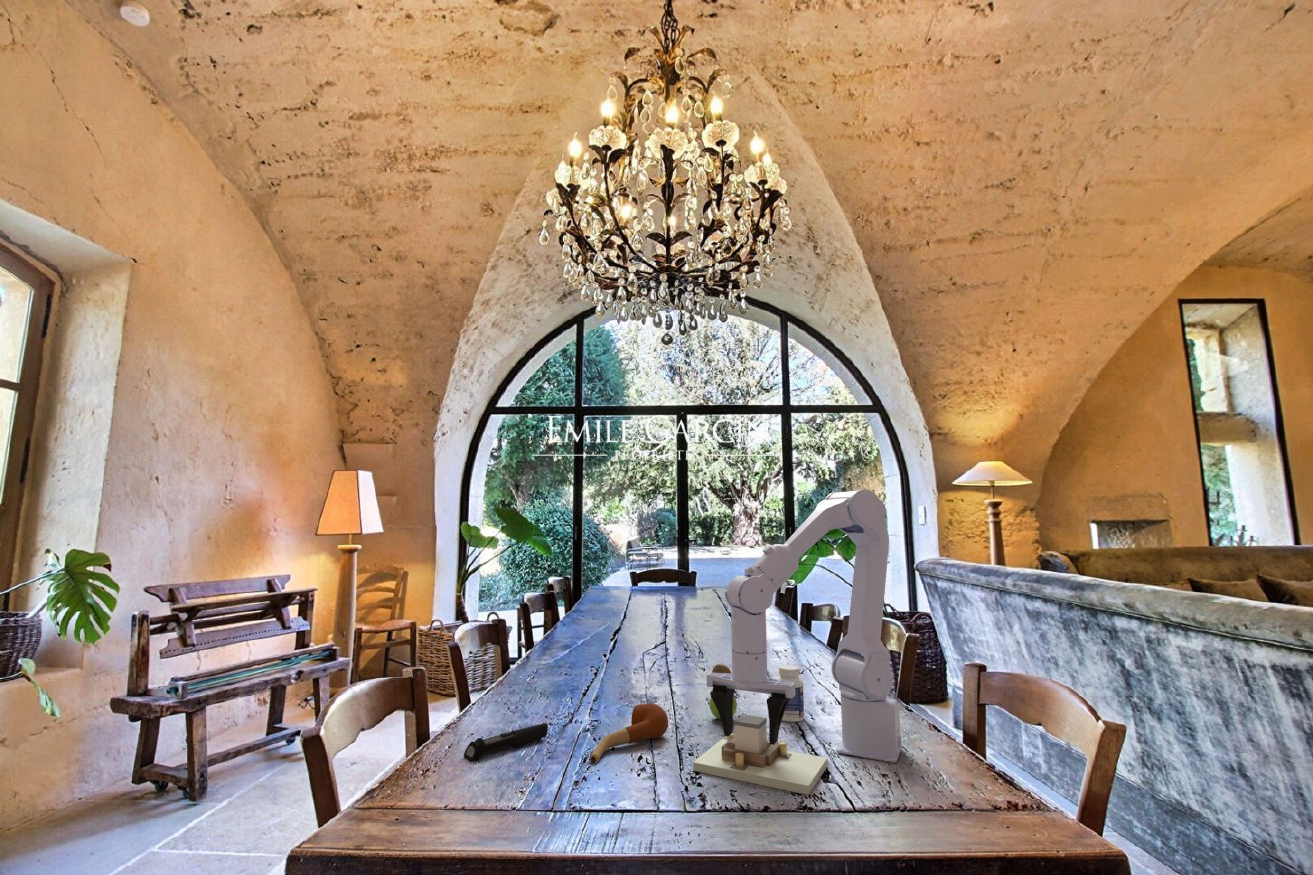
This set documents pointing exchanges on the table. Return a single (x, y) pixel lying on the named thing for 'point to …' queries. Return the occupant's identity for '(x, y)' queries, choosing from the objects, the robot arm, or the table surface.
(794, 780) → the board
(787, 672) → the pill bottle
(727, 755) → the socket collar
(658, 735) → the smoking pipe
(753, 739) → the plug block
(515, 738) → the electric trimmer
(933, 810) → the table surface
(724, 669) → the snail figurine
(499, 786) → the table surface
